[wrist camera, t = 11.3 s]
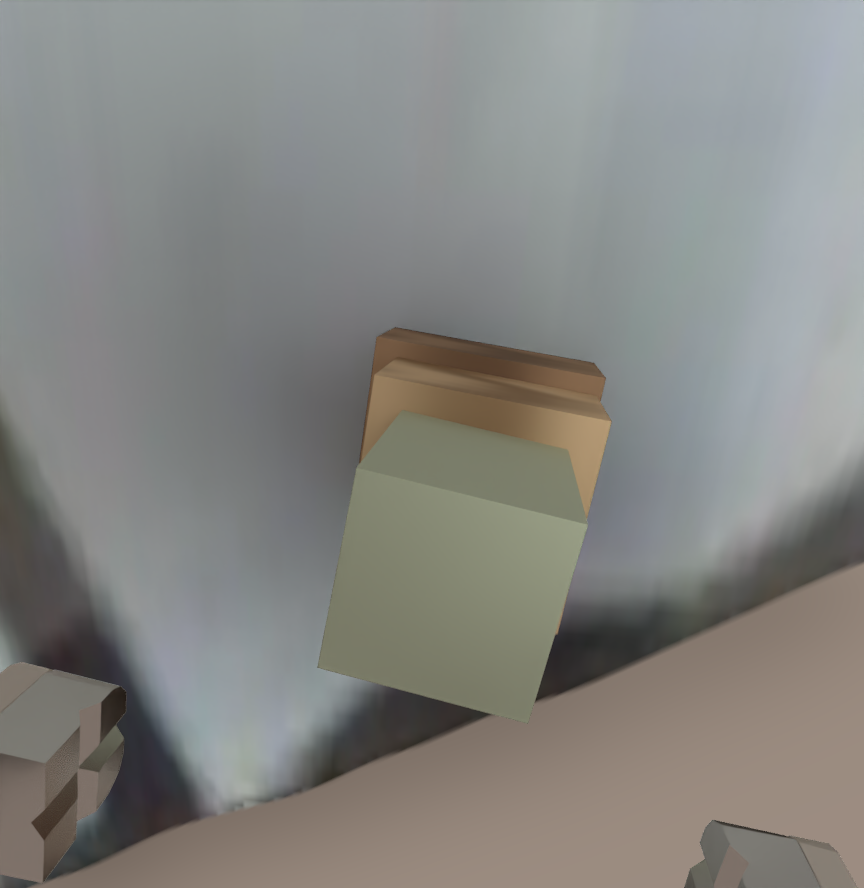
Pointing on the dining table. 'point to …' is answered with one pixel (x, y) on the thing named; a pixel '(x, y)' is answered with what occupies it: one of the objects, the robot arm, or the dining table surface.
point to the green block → (455, 565)
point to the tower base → (485, 362)
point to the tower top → (494, 412)
